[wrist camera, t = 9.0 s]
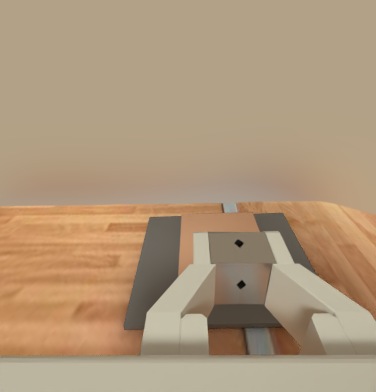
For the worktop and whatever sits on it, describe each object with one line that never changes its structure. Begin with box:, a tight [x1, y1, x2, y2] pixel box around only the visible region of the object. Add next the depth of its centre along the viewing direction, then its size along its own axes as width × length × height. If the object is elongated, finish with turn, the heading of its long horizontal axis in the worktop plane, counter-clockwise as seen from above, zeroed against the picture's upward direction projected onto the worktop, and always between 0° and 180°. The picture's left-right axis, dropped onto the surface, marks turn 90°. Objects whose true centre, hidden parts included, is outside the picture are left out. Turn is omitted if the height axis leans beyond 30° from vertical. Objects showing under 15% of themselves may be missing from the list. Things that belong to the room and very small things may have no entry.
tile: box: [178, 212, 260, 277], centre depth 33 cm, size 10×2×12 cm
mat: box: [124, 213, 317, 330], centre depth 32 cm, size 20×18×1 cm
